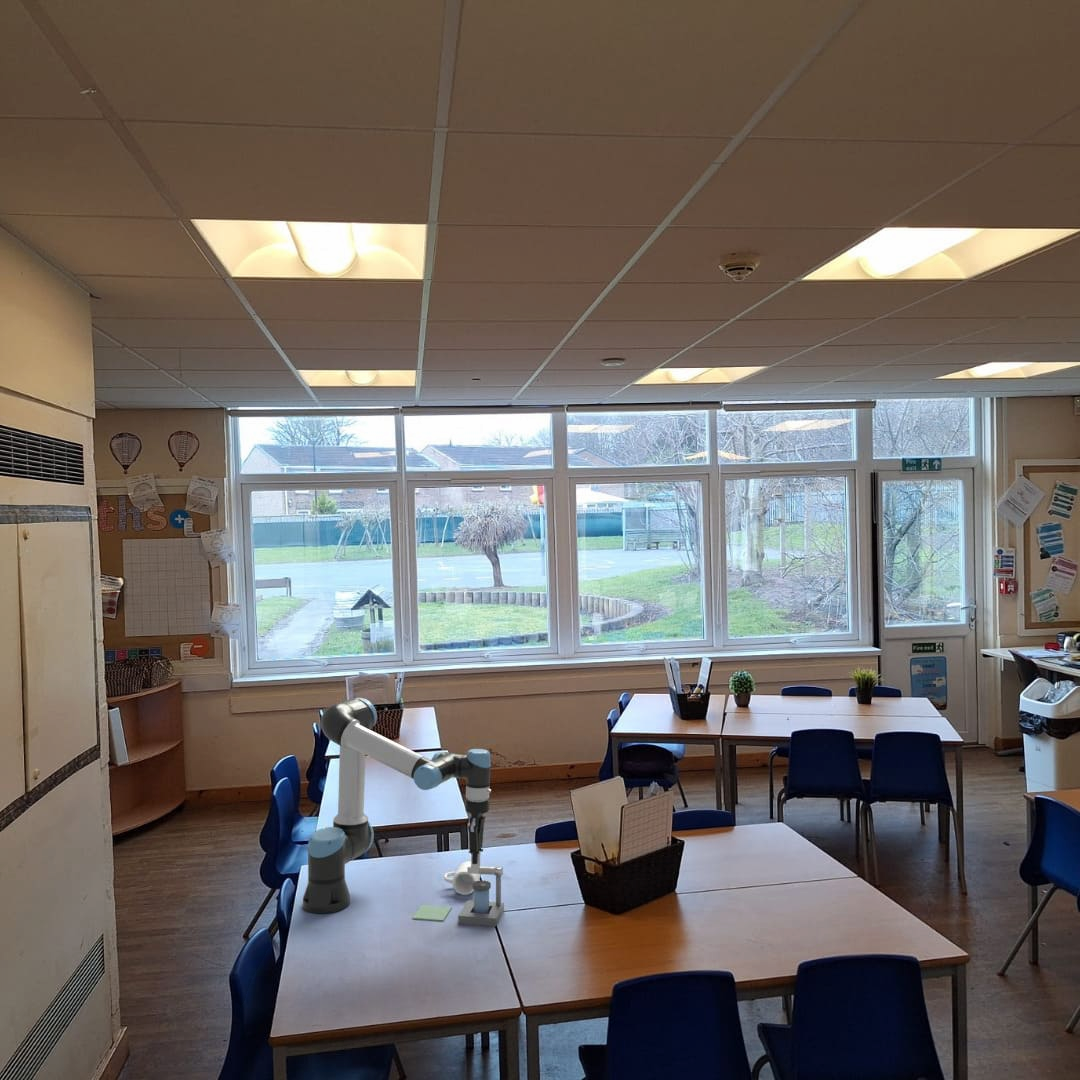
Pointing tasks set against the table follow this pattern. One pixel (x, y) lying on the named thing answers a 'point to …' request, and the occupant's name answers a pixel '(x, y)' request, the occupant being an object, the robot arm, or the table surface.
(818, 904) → the table surface
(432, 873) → the table surface
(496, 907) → the socket
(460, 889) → the mug
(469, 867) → the lever
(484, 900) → the plug
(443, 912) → the mat
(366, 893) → the table surface
